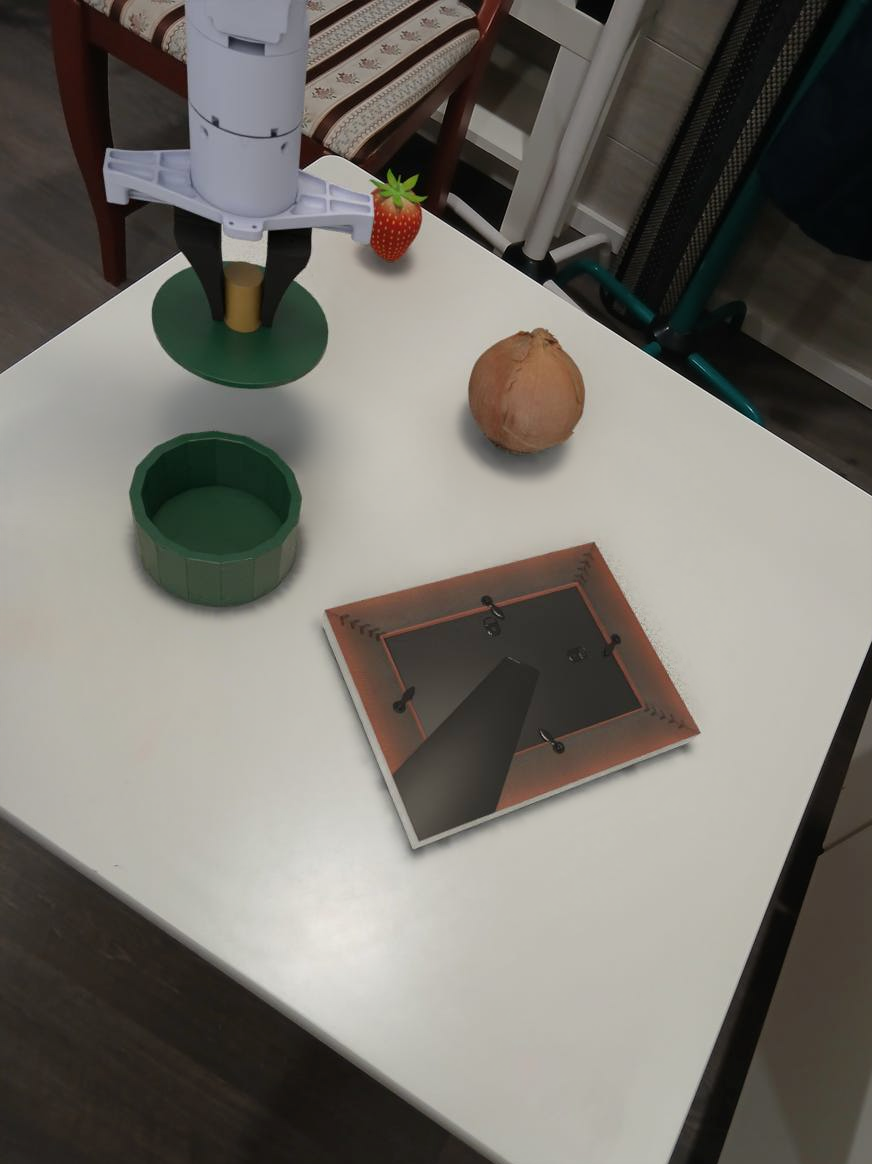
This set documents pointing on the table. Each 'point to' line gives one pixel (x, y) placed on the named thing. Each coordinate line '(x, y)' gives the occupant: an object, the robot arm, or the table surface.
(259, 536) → the tea tin
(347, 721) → the table surface
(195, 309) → the tin lid
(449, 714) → the picture frame
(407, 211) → the fruit
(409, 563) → the table surface
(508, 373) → the onion
